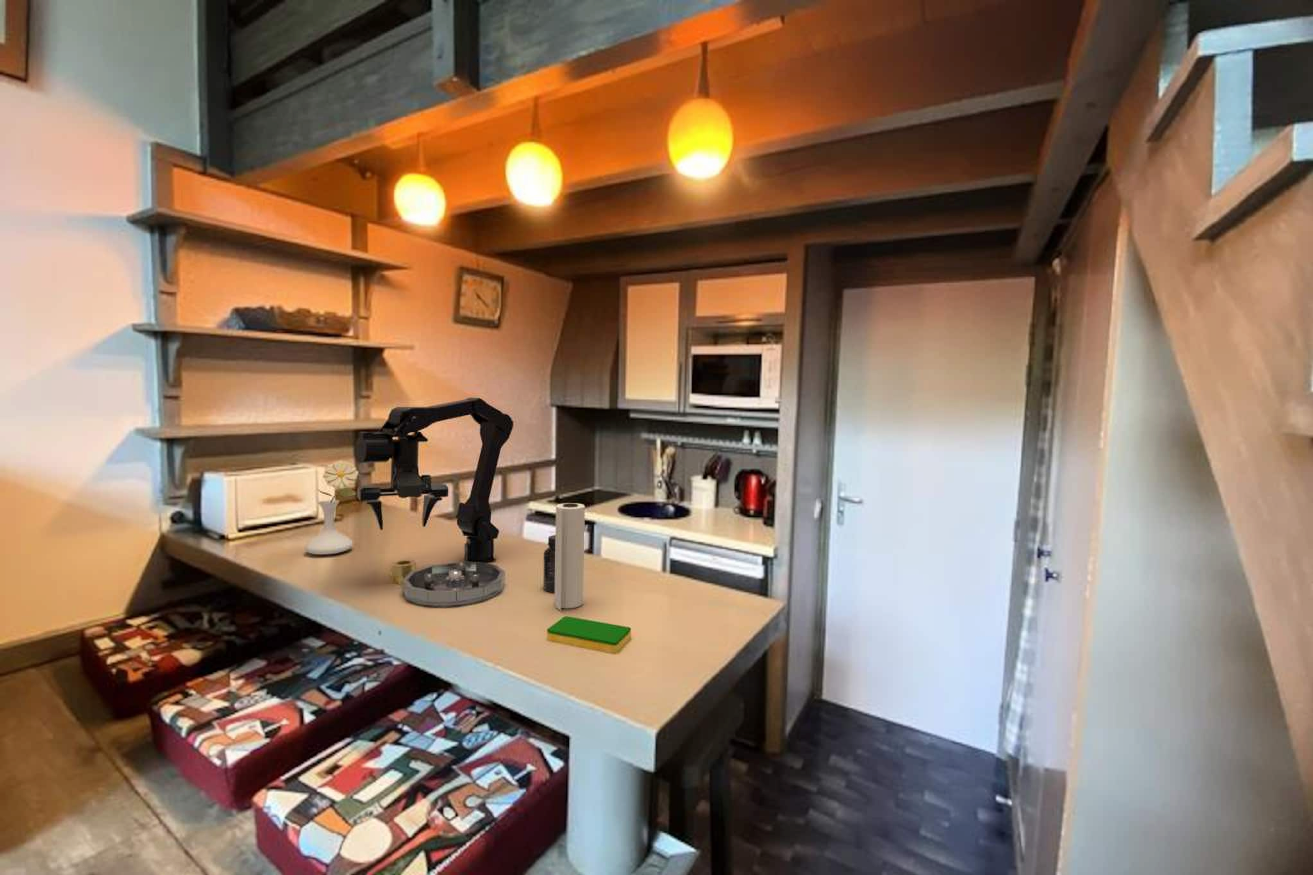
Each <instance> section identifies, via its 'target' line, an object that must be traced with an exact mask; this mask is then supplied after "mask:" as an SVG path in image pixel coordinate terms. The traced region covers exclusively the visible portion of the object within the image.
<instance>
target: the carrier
mask: <svg viewBox="0 0 1313 875" xmlns="http://www.w3.org/2000/svg"><path fill="white" fill-rule="evenodd" d="M505 582H506V571H505V570H504V569H503V568H501V567H499V566H498V565H496V564H492V563H488V562H485V563H482V562H468V561H451V562H444V563H439V564H431V565H427V566H425V567H421V568H418V569H416V570H415V571H412V572H410V573H409V574H408V575H407V576H406V577H405V578H404V579H403V580H402V584H401V590H402V591H403V598H404V599H405V601H407V602H409V603H411V604H413V605H415V606H416V605H417V606H420V607H424V608H425V607H427V608H457V607H463V606H469V605H474V604H478V603H482V602H485V601H489V600H491V599H492V598H494V597H497V596H498V595H500V594H501V593H502V591H504V586H505V585H504V584H505Z"/></svg>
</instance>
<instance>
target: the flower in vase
mask: <svg viewBox="0 0 1313 875" xmlns="http://www.w3.org/2000/svg"><path fill="white" fill-rule="evenodd" d="M322 474H323V476H322V478H323V479H324V482H326V485H328V486H330V487H333V488H337V489H338V490H337V492H336V493H335V494H334V495H332V494H330V493H328V492H325V491H323V490H322V491H321V490H320V489H318V492H319V493H321V494H323V495H327V496H330V497H332V498H331V499H326V500H320V501H317V504H318V505H319V506H320V507H321V509H322V512H323V519H324V520H323V521H324V524H323V528H322V530H321V531H320V532H319V533H318V534H316V535H315V536H314V537H313V538H312V539H310V540H309V541H308V542H307V543H306V545H305V547H304V550H305V551H306V552H307V553H309V554H313V555H322V556H323V555H333V554H338V553H339V554H340V553H343V552H345V551H348V550H350V549H351V548H353V546H354V542H353V540H352V539H351V538H350V537H348V536H347V535H345V534H344V533H342V532H341V531H340V530H338V529H337V528H336V526H335V513H336V508H337V506H338V505H339V503H340V500H338V499H337V500H336V499H335V497H336V496H337V495H338V494H340V495H341V496H342V497H344V498H348V497H353V496H355V495H356V496H357V492H355V491H354V490H353V489H352V488H350V487H348V486H351V485H354V484H355V483H356V480H357V478H358V475H359V471H358V470H357V467H355V464H353V463H352V462H348V461H347V460H344V461H343V460H338V461H334V462H333V463H331V464H327V466H326V468H325V469H324V472H323V473H322Z"/></svg>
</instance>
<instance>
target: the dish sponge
mask: <svg viewBox="0 0 1313 875" xmlns="http://www.w3.org/2000/svg"><path fill="white" fill-rule="evenodd" d="M631 639H632V629H631V627H630V626H623V625H619V624H613V623H607V622H601V621H596V620H590V619H585V618H578V617H573V616H568V615H567V616H566V615H565V616H563V617H562V618H560V619H559V620H557V621H556V622H555V623H554V624H552V625H551V626H550V627H548V628H547V629H546V640H547V641H548V642H549V641H550V642H552V643H553V642H555V643H559V644H565V645H568V646H569V645H570V646H576V647H579V648H586V649H590V650H594V651H600V652H604V651H606V653H610V654H617V653H618V652H619V651H620V650H622V648H623V647H624V646H625V645H626V644H627V643H628V640H629V641H630V640H631ZM623 645H624V646H623Z"/></svg>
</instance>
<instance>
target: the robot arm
mask: <svg viewBox="0 0 1313 875" xmlns="http://www.w3.org/2000/svg"><path fill="white" fill-rule="evenodd" d="M465 416H471V418H472V419H473V421H474V422H476V423H477V424H478V425H479V435H480V440H481V448H480V453H479V457H478V460H477V464H476V469H475V474H474V477H473V481H472V486H471V489H470V490H471V491H470V495H469V497H468V499H467V500H466V501H465V502H459V504H458V510H457V513H456V515H455V519H457V520H456V524H457V526H458V529H460V530H461V533H462V536H464V537H466V542H465V543H464V560H465V561H466V562H482V563H491V562H496V561H497V558H495V557H494V554H495V552H494V551H495V545H494V544H495V543H494V542H495V539H496V540H497V539H498V536H499V533H500V530H499V528H497V527H496V526H495V525H494V524H493V523H492V522H491V521H492V509H491V505H490V497H491V492H492V488H493V484H494V480H495V476H496V471H497V467H498V462H499V459H500V454H501V450H502V447H504V445H505V444H506V443H507V441H508V440H509V439H510V437H511V435H512V432H513V428H514V421H513V419H512V417H511V416H510V415H509V414H507V413H503V412H502V411H501V410H499V409H497V408H496V407H494V406H492V405H491V404H489V403H487V402H486V401H485V400H484V399H483V398H480V397H467V398H465V399H462V400H461V399H460V400H455V401H450V402H445V403H441V404H435V405H430V406H396V407H393V408H392V409H391V410H390V412H389V414H388V416H387V417H388V418H387V420H386V421H385V422H384V423H383V425H382V426H381V427H380V429H379V430H378V432H370V431H359V436H358V438H357V439H356V440H355V441H356V442H355V445H354V446H353V454H354V458H355V460H356V461H357V462H356V463H358V464H371V463H372V464H373V463H375V464H377V463H386V462H388V461H389V460H390V459H391V460H390V487H380V486H379V485H377V484H360V485H359V486H358V487H357V490H356V497H357V499H358V500H359V501H361V502H364V504H366V505H369V506H370V507H371V509H372V511H373V513H374V516H375V518H376V521H377V524H378V526H379V527H378V528H379V530H381V531H383V528H384V522H383V520H384V519H383V510H382V506H383V505H382V503H383V502H382V501H381V499H380V497H392V496H394V497H395V496H398V498H400V499H406V498H421V497H422V495H424V496H423V503H422V504H423V506H422V515H421V516H422V517H421V518H422V519H421V523H422V524H421V525H422V527H423V528H424V527H426V525H427V522H429V521H428V520H429V518H430V515H431V513H432V510H433V509H434V507H435V505H436V504H437V503H438V502H441V501H442V500H443V498H448V497H449V487H448V485H446V484H445V483H443V482H432V476H431V474H422V475H420V473H419V445H420V444H419V443H424V442H425V443H427V442H428V441H429V439H428V438H427V437H426V436H424V435H423V433H422V430H424V429H427V428H429V427H430V426H431V425H433V424H436V423H438V422H443V421H447V420H452V419H455V418H456V419H457V418H461V417H465ZM411 433H412V434H411Z"/></svg>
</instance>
